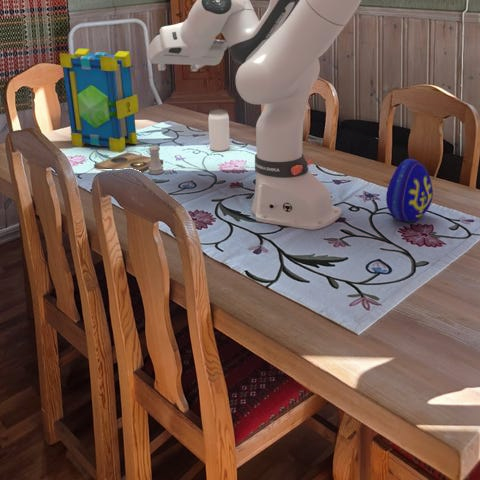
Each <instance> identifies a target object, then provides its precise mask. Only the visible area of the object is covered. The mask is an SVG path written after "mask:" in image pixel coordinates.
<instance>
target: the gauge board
mask: <svg viewBox="0 0 480 480" xmlns="http://www.w3.org/2000/svg"><path fill="white" fill-rule="evenodd" d="M135 162H143V165H141V166H134V165H133V163H135ZM160 162H161V165H162V166H163V164H164V159H160ZM150 163H151V156H147V155H146V156H145V155H141V154H137V153H132V152H124V153H122V154H118V155H116V156H113V157H110V158H107V159H105V160H103V161H100V162H97V163H94V165H93V167H94V168H93V169H95V168H98V169H97V170H99V169H124V168H133V169H136V170H139V171H141V172H142V173H144V172H148V171H149V169H148V168H149V166H150Z"/></svg>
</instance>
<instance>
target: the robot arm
mask: <svg viewBox="0 0 480 480" xmlns="http://www.w3.org/2000/svg"><path fill="white" fill-rule="evenodd" d="M361 2H362V0H269V5H268V7H267V9H266V11H265V12H264V14H263V15H262V17H261V18H260V19H259V17H258V16H257V13H256V11H255V8H254V7H253V4H252V3H251V1H250V0H196V1H195V2H194V4H193V5H192V7H191V9H190V10H189V12H188V15H187V18H186V19H185V20H184V21H183V22H179V23H175V24H171V25H165V26H162V27H160V28H159V34H158V35H156V36H155V37H153V39H152V40H151V41H150V44H149V46H148V48H147V49H146V53H147V59H148V61H149V63H150V64H153V65H154V64H157V69H158V71H165V70H166V68H167V67H166V65H183V66H184V65H188V66H190V68H189V69H190V72H197V71H198V70H199V69H201V68H203V67H205V66H217V65H219V64H220V63H221V61H222V60H223V57H224V55H225V51H226V50H227V49H228V50H229V53H230V56H231V58H232V61H234V62H235V63H238V64H239V65H240V66H239V67H238V69H237V70H236V71H237V72H236V74H235V86H236V90H237V93H238V94H239V96H240V97H241V99H243V101H245V102H246V103H248V104H251V105H264V107H263V110H262V112H261V113H260V116H259V117H258V120H257V122H256V125H255V136H256V138H255V139H256V140H255V142H256V143H255V144H256V150H255V151H256V154H255V155H254V170H255V174H256V175H255V176H256V177H255V188H254V194H253V200H252V204H251V207H250V211H251V213H252V214H253V215H254V217H255V218H254V219H255V221H256V222H259V223H267V224H271V225H277V226H278V225H279V226H286V227H291V228H298V229H303V230H304V229H305V230H309V231H310V230H312V231H314V230H318V229H322V228H325V227H328V226H329V225H331V224H333V223H334V222H336V221H337V220H338V219H340V217H341V215H342V209H341V208H340V207H338V206H335V205H333V201H332V195H331V191H330V189H329V188H328V187H327V186H326V185H325V184H324V183H323V182H321V181H320V180H319V179H318V178H317V177H316V176H315V175H314V174H313V173H312V172H310V170H309V166H310V165H312V164H313V163H312V161H313V159H312V158H311V159H309V160H306V158H305V155H304V154H303V134H304V129H303V128H304V120H305V115H306V111H307V106H308V102H309V100H310V99H309V98H310V96H311V91H312V88H313V87H314V84H315V83H316V81H317V80H318V78H319V76H320V72H321V71H320V70H321V65H320V60H319V58H320V57H322V56H323V55H324V54H325V53H326V52H327V51H328V50H329V48H330V47H331V46H332V44H333V43H334V42H335V40H336V39H337V38H338V36H339V35H340V33H341V32H342V31H343V29H344V28H345V27H346V26H347V24H348V23H349V21H350V20H351V19H352V17H353V16H354V14H355V12H356V10H357V9H358V8H359V6H360V4H361ZM219 34H222V36H223V37H224V39H216V37H218V36H219Z"/></svg>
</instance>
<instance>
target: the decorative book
mask: <svg viewBox="0 0 480 480" xmlns="http://www.w3.org/2000/svg"><path fill="white" fill-rule="evenodd" d="M90 51H91V50H90V48H79V47H78V49H77V50H75V52H74V53H73V54H72V53H66V52H65V53H63V52H58V53H59V55H58V56H59V61H60V62H59V63H60V67H61V68H62V72H63V81H64V88H65V93H66V94H65V95H66V103H67V104H66V105H67V109H68V110H67V112H68V118H69V124H70V125H69V126H70V138H71V146H73V147H80V148H81V147H84V146H85V144H89V145H91V146H96V147H97V146H98V147H109V152H114V153H122V152H123V151H124V149H125V148H126V144H131V145H132V144H133V145H138V136H137V135H138V134H137V131H136V119H135V117H136V116H135V114H136V113H139V98H138V94H133V87H132V75H131V67H132V61H131V53H130V51H127V50H126V51H124V50H118V51H117V52H116V53H115V54H109V53H107V52H104V51H103V52H101V51H97V52H95V53H92V52H91V53H90Z"/></svg>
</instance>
